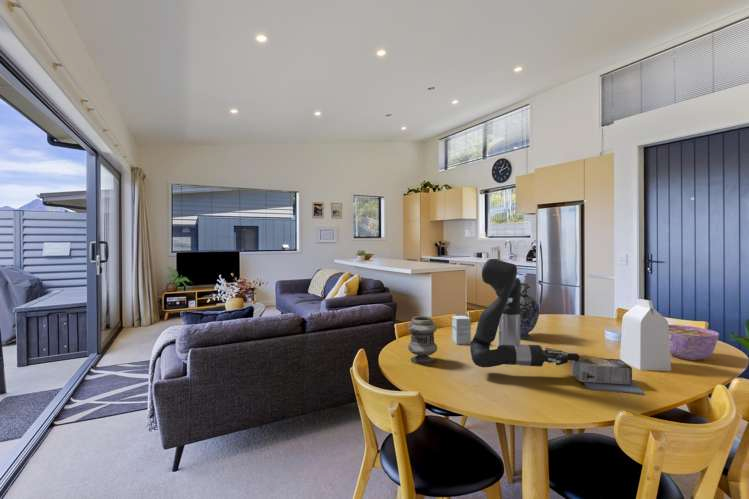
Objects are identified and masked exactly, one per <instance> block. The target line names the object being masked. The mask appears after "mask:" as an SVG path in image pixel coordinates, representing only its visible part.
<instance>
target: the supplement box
mask: <svg viewBox="0 0 749 499" xmlns="http://www.w3.org/2000/svg"><path fill="white" fill-rule="evenodd" d="M471 319H472V318H470V317H468V316H467V315H452V316H451V329H452V330H451V340H452V341H453V342H454V343H455V344H456V345H457V346H458V345H459V346H461V345H471V343H472V340H471V339H472V333H471V332H472V329H471V328H472V325H471V324H472V323H471V322H472V320H471Z"/></svg>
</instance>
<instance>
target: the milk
mask: <svg viewBox="0 0 749 499" xmlns="http://www.w3.org/2000/svg"><path fill="white" fill-rule="evenodd" d="M621 321H622V322H621V335H620V337H621V338H620V348H619V349H620V350H619V352H620V353H619V359H620V360H622V361H623V362H625V363H627V365H628V364H629V366H630V365H631V366H630V367H632V366H633V367H632V368H634V367H635V368H634V369H636V368H637V369H636V370H638V369H639V371H640V370H660V371H661V372H663V371H665V372H667V371H668V372H670V371H672V362H671V353H670V343H669V326H668V325H669V321H668V320H667V318H665V316H663V315H662V314H661V313H660V312H659V311H657V309H655V308H654V305H653V301H652V300H648V299H643V298H637V299H636V304H635V305H634V306H633V307H631V308H630V309H629V310H628V311H626V312H625V313H624V314H623V316H622V320H621Z"/></svg>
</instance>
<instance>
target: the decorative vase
mask: <svg viewBox="0 0 749 499" xmlns="http://www.w3.org/2000/svg"><path fill="white" fill-rule="evenodd" d="M529 289H531V286H530V285H529V283H525V282H521V295H520V341H521V340H524V341H525V340H529V339H530V340H531V338H532V336H531V334H529V333H530V332H532V331H533V330H534V328H535V327H536V326H537V322H538V320H539V317H540V316H539V314H540V306H539V303H538V300H536V298H534V297H533V296H529V294H528V290H529ZM512 300H513V298H509V299H508V301H507V304H508V303H510V302H511V301H512Z"/></svg>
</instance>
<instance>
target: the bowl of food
mask: <svg viewBox="0 0 749 499" xmlns="http://www.w3.org/2000/svg"><path fill="white" fill-rule="evenodd" d="M668 326H669V343H670V355H673V356H674V357H675V358H678V359H682V360H687V361H699V360H700V359H701V360H702V359H706V358H708V357H710V356H711V355H712V354H713V353H714V351H715V348H716V345H717V343H718V340H719V337H720V333H719V332H717V331H716V330H712V329H709V328H708V329H707V328H703V327H699V326H698V327H697V326H690V325H680V324H668Z"/></svg>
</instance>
